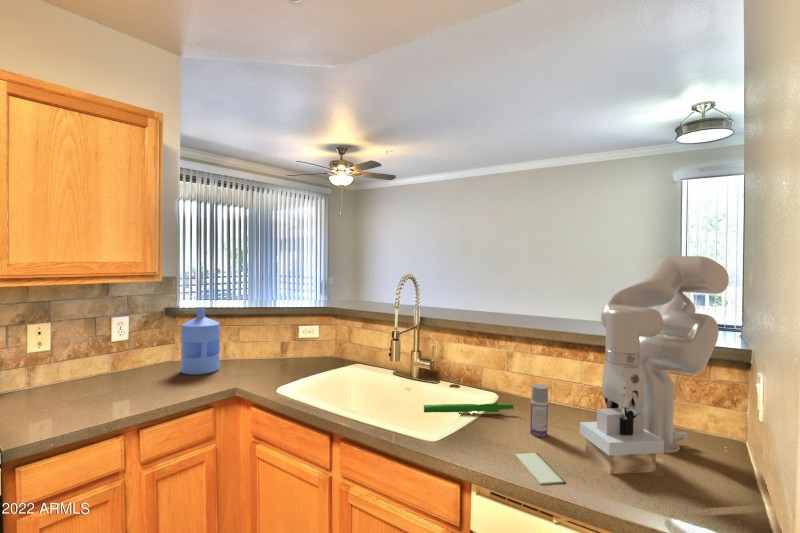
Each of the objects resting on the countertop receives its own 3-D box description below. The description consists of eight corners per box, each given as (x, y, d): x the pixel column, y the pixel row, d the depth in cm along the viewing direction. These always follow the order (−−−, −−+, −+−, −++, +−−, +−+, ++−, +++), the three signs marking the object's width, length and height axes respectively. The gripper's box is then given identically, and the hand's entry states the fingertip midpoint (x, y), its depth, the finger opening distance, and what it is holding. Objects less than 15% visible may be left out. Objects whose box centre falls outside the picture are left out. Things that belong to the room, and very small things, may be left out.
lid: (628, 431, 110) (629, 402, 110) (663, 452, 98) (664, 419, 98) (579, 433, 108) (580, 403, 108) (609, 455, 96) (610, 421, 96)
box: (627, 455, 109) (628, 425, 109) (655, 475, 99) (656, 442, 99) (585, 457, 107) (586, 427, 107) (609, 478, 97) (610, 444, 97)
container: (533, 432, 123) (535, 382, 122) (549, 437, 120) (550, 386, 119) (527, 437, 119) (528, 386, 119) (543, 442, 116) (545, 389, 116)
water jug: (177, 369, 184) (178, 307, 184) (214, 364, 194) (215, 305, 193) (184, 377, 172) (184, 311, 171) (223, 371, 181) (224, 308, 181)
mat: (571, 452, 110) (571, 451, 110) (604, 480, 96) (604, 479, 96) (515, 455, 108) (515, 454, 108) (540, 484, 94) (540, 482, 94)
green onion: (424, 416, 136) (515, 415, 135) (423, 406, 136) (514, 405, 135) (423, 411, 141) (511, 410, 140) (423, 402, 141) (511, 400, 140)
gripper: (660, 366, 95) (658, 444, 95) (613, 350, 112) (612, 417, 112) (631, 367, 94) (629, 446, 94) (588, 350, 111) (586, 418, 111)
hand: (619, 429), depth 103 cm, fingers closed on lid, 4 cm apart
